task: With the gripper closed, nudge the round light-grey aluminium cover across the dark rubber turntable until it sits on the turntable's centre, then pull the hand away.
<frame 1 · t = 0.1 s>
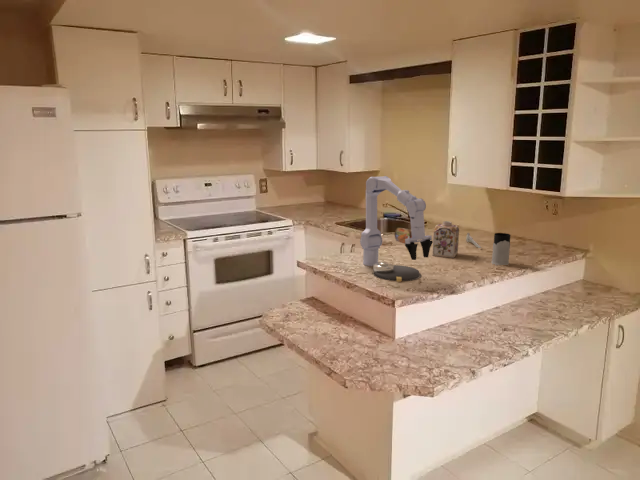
hand: (420, 258, 213), 11 cm above the counter, tool pointing down, fingers open, 7 cm apart
turntable: (396, 273, 221), point 2 cm above the counter, hinge at 0.0°, touching cover
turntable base: (396, 276, 223), on the counter
cover: (383, 270, 223), point 3 cm above the counter, touching turntable
caliper: (473, 246, 287), on the counter
tin: (403, 242, 295), on the counter
decorative jar: (444, 255, 265), on the counter
glass holder: (498, 262, 250), on the counter
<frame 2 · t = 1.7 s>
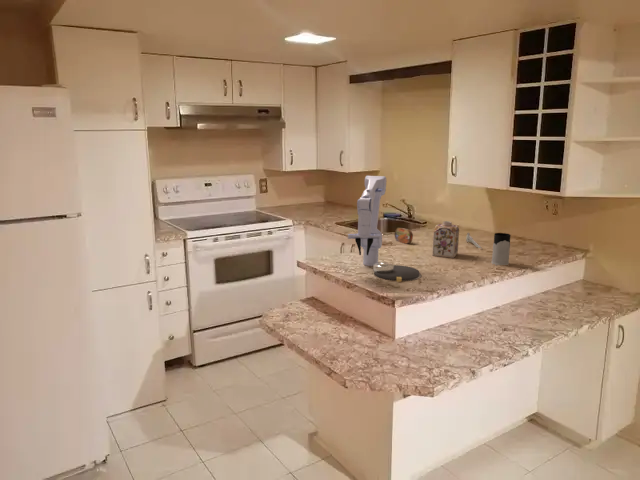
hand: (363, 254, 222), 10 cm above the counter, tool pointing down, fingers open, 3 cm apart
nothing on the counter moved.
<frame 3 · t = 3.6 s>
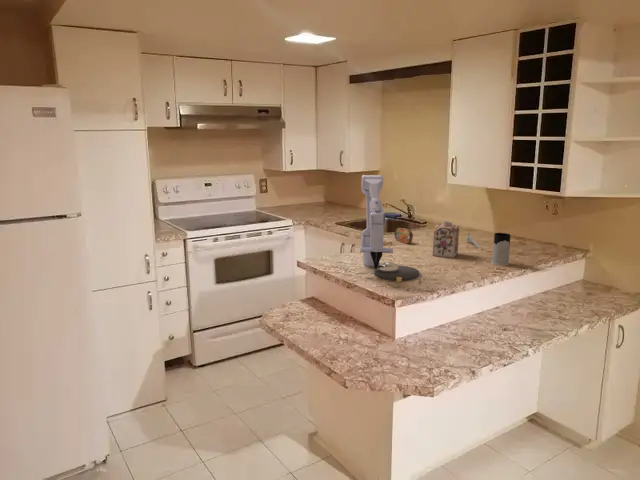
hand: (375, 268, 223), 4 cm above the counter, tool pointing down, fingers closed
cover: (388, 270, 222), point 3 cm above the counter, touching gripper, turntable
everything else where it was.
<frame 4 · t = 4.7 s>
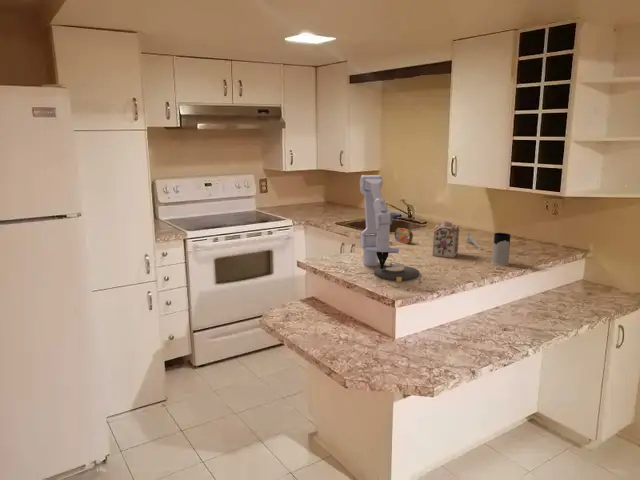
hand: (381, 268, 222), 4 cm above the counter, tool pointing down, fingers closed
cover: (394, 270, 222), point 3 cm above the counter, touching turntable
everything else where it was.
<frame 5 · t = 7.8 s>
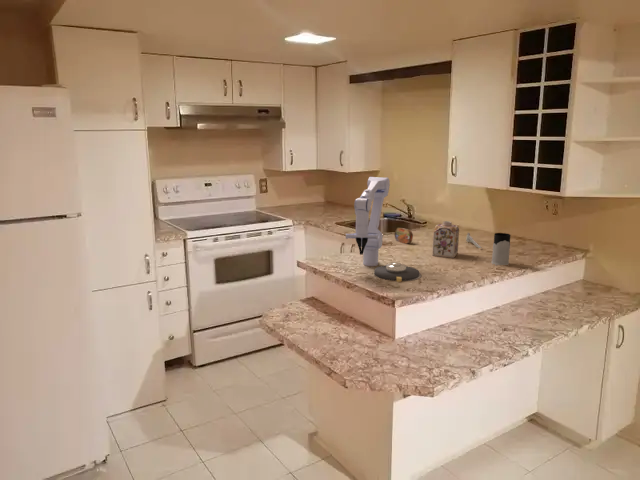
hand: (361, 254, 225), 9 cm above the counter, tool pointing down, fingers closed
nothing on the counter moved.
at the end: cover 0.4 cm from the turntable (horizontally); cover touching turntable; cover tilted 0° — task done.
